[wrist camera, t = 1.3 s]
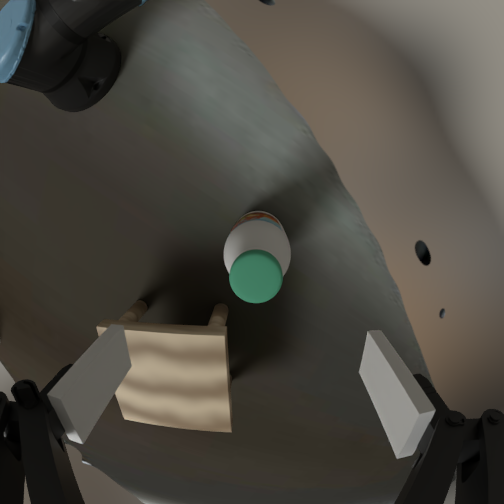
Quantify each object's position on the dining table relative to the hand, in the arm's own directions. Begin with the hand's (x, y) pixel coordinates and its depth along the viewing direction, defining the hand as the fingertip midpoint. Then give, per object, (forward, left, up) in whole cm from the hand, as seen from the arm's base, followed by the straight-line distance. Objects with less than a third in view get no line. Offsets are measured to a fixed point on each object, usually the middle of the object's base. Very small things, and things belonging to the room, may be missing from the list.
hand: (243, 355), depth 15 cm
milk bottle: (0, +1, -31) cm, 31 cm away
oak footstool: (+19, -12, -31) cm, 38 cm away
